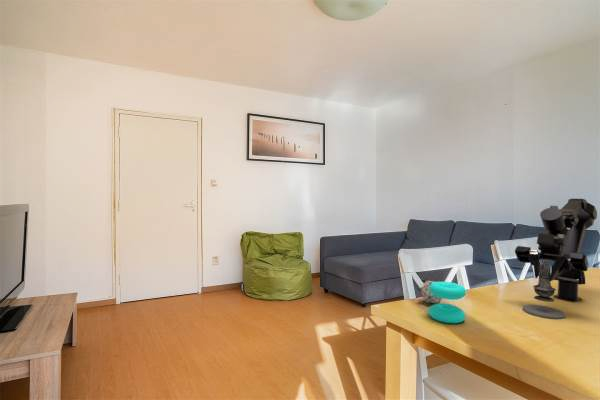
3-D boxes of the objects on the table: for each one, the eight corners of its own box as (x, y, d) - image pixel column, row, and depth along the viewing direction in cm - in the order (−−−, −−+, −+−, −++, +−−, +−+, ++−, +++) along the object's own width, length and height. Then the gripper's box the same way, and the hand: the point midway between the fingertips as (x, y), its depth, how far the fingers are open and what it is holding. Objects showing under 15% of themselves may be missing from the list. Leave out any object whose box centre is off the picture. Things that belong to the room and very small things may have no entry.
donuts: (421, 282, 103) (445, 279, 107) (421, 315, 103) (444, 310, 108) (449, 290, 94) (473, 287, 98) (448, 327, 94) (472, 321, 99)
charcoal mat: (532, 305, 115) (532, 302, 115) (571, 315, 106) (571, 312, 106) (515, 310, 109) (515, 307, 109) (555, 321, 100) (555, 318, 100)
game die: (432, 316, 113) (429, 297, 107) (414, 300, 120) (411, 281, 114) (453, 302, 114) (451, 282, 109) (434, 287, 121) (431, 267, 116)
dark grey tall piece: (560, 301, 106) (561, 262, 105) (545, 302, 104) (546, 263, 104) (542, 295, 111) (543, 259, 111) (528, 296, 110) (529, 259, 110)
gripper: (517, 222, 117) (503, 258, 110) (587, 227, 102) (576, 268, 96) (525, 243, 122) (512, 278, 115) (592, 250, 108) (582, 291, 101)
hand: (543, 278), depth 107 cm, fingers closed on dark grey tall piece, 3 cm apart
